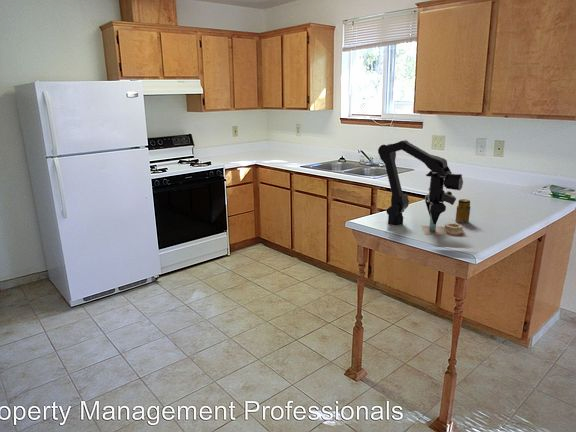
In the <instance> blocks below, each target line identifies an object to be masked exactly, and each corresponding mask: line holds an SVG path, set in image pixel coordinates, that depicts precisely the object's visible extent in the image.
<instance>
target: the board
mask: <svg viewBox="0 0 576 432" xmlns="http://www.w3.org/2000/svg"><path fill="white" fill-rule="evenodd" d="M429 226H430V225H421V228H422V231H423V234H424V235H425V236H445V237H466V238H468V235H467V234H466V232H465V231H464V229H463V228H462V233H461V234H449V233H446V232H445V231H444V229H445V226H437V225H436V231H435V232H431V231H429Z"/></svg>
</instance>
